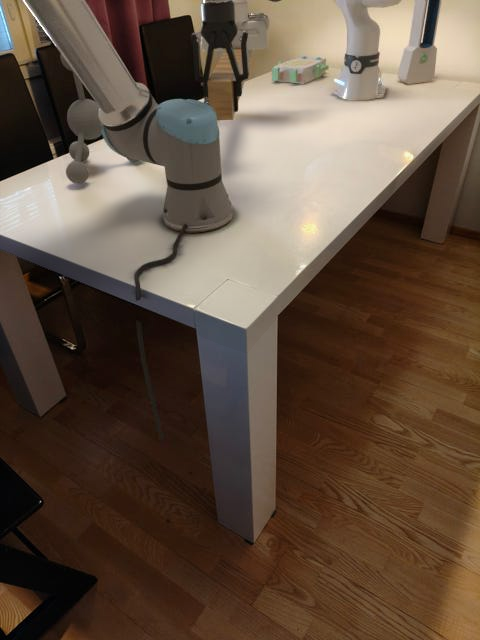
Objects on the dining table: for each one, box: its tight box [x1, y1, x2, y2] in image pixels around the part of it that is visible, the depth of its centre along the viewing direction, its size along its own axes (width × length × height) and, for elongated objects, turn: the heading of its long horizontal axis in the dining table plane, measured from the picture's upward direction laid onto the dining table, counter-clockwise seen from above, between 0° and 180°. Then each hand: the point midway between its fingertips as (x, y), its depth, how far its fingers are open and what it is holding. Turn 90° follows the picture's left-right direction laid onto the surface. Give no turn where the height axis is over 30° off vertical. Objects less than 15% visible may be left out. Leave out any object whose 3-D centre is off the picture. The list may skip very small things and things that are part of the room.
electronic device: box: [397, 0, 442, 85], centre depth 186 cm, size 12×8×30 cm, turn 105°
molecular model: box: [60, 53, 140, 185], centre depth 125 cm, size 24×22×30 cm
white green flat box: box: [271, 55, 330, 85], centre depth 207 cm, size 26×6×20 cm
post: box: [207, 48, 246, 121], centre depth 135 cm, size 50×6×9 cm, turn 176°
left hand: (224, 110), depth 122 cm, fingers closed on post, 6 cm apart
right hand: (236, 67), depth 150 cm, fingers closed on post, 5 cm apart
